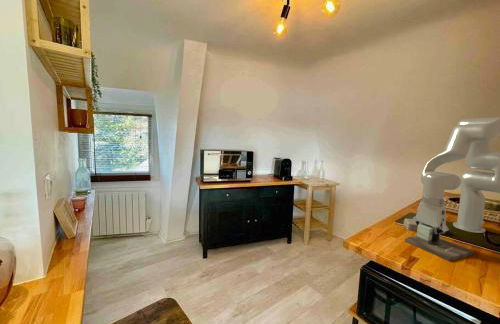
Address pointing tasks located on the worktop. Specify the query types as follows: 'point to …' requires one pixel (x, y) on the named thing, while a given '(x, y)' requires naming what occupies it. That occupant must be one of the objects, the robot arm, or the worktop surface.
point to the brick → (413, 225)
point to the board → (441, 248)
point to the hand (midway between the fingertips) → (428, 238)
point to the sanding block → (425, 233)
